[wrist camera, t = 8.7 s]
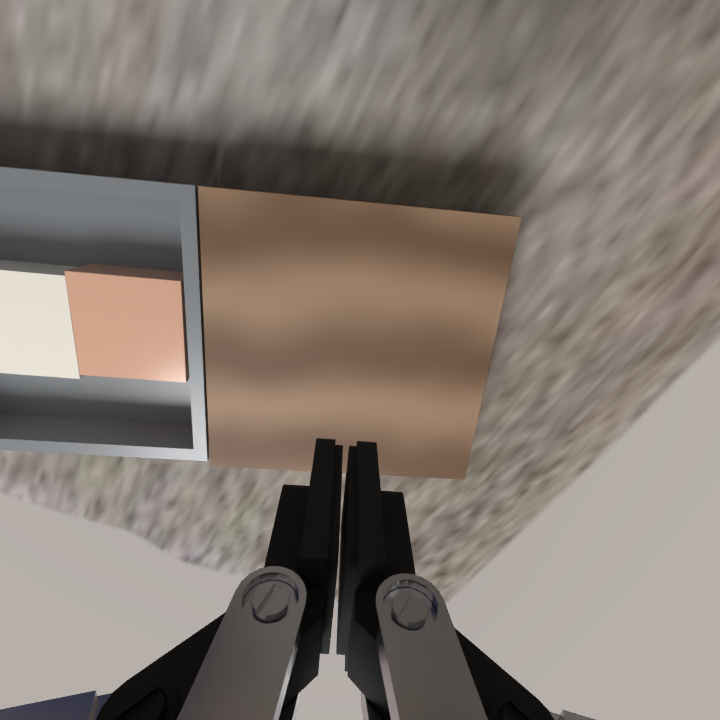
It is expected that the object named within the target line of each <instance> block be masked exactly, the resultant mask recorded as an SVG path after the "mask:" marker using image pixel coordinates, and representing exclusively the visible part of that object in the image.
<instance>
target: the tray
mask: <svg viewBox="0 0 720 720" xmlns="http://www.w3.org/2000/svg"><path fill="white" fill-rule="evenodd" d="M198 186H206V185H196V184H186V183H175V182H165V181H155V180H144V179H134V178H123V177H113V176H103V175H92V174H82V173H72V172H61V171H51V170H41V169H30V168H20V167H10V166H0V260H11V261H21V262H32V263H43V264H54V265H64V266H75V267H80V266H83V265H87V264H101V265H113V266H124V267H135V268H146V269H157V270H168V271H179V272H183V277H184V294H185V311H186V328H187V345H188V362H189V380H188V381H187V382H186V383H185V382H171V381H157V380H143V379H129V378H115V377H102V376H88V375H85V376H83V377H82V378H81V379H74V378H60V377H47V376H34V375H20V374H7V373H0V450H12V451H31V452H49V453H68V454H87V455H106V456H124V457H143V458H162V459H181V460H200V461H208V459H209V457H210V455H209V432H208V409H207V386H206V363H205V340H204V317H203V294H202V270H201V247H200V224H199V201H198ZM210 187H215V186H210Z"/></svg>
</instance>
